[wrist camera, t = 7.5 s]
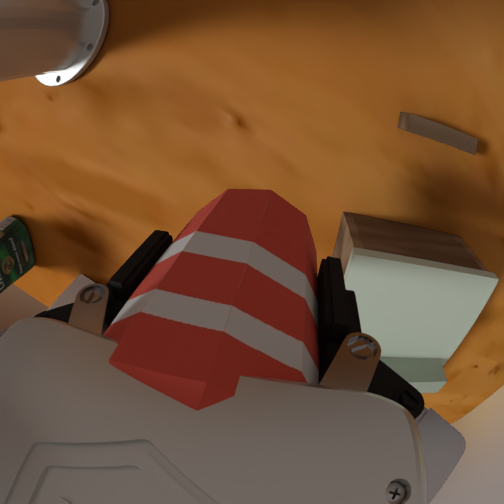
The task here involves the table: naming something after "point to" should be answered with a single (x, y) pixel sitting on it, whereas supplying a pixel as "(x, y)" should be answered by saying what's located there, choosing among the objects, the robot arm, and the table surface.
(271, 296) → the beverage can
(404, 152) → the table surface
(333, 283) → the robot arm
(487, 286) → the lid
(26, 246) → the coffee jar
